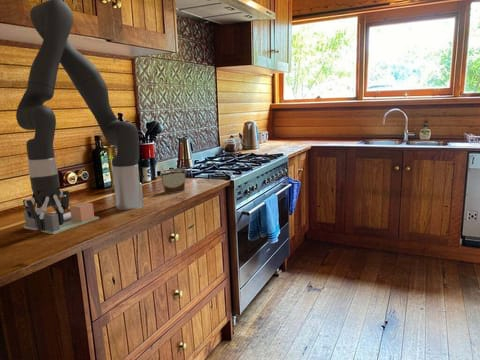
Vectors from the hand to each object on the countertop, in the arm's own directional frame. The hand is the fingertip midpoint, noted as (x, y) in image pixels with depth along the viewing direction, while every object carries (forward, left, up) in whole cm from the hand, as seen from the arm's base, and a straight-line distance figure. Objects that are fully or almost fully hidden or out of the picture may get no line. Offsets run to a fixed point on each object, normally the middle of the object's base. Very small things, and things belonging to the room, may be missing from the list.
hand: (51, 227), depth 113 cm
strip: (-7, -9, -1) cm, 11 cm away
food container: (-63, -3, -3) cm, 63 cm away
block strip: (-7, 0, -1) cm, 7 cm away
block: (-12, 0, -1) cm, 12 cm away
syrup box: (-57, -29, -3) cm, 64 cm away
